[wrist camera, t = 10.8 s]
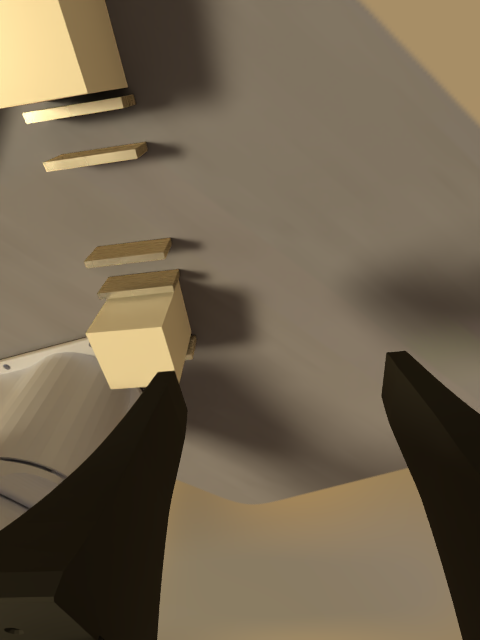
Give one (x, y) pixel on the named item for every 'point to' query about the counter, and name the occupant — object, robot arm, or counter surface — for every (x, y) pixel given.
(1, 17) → the block
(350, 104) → the counter surface
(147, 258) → the clip holder
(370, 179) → the counter surface
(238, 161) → the counter surface
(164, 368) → the beige small block
